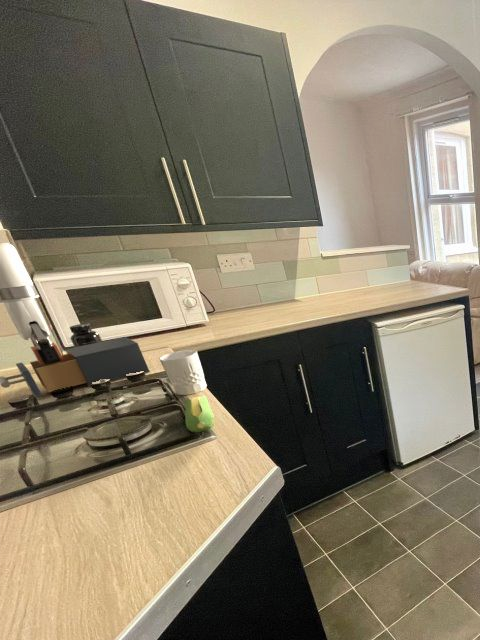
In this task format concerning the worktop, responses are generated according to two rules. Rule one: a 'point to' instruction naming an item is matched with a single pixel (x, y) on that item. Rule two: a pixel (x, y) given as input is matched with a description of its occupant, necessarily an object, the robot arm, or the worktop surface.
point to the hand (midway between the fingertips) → (50, 360)
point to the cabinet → (109, 359)
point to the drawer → (49, 375)
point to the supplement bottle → (84, 335)
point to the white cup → (184, 371)
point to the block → (39, 355)
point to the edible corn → (198, 414)
